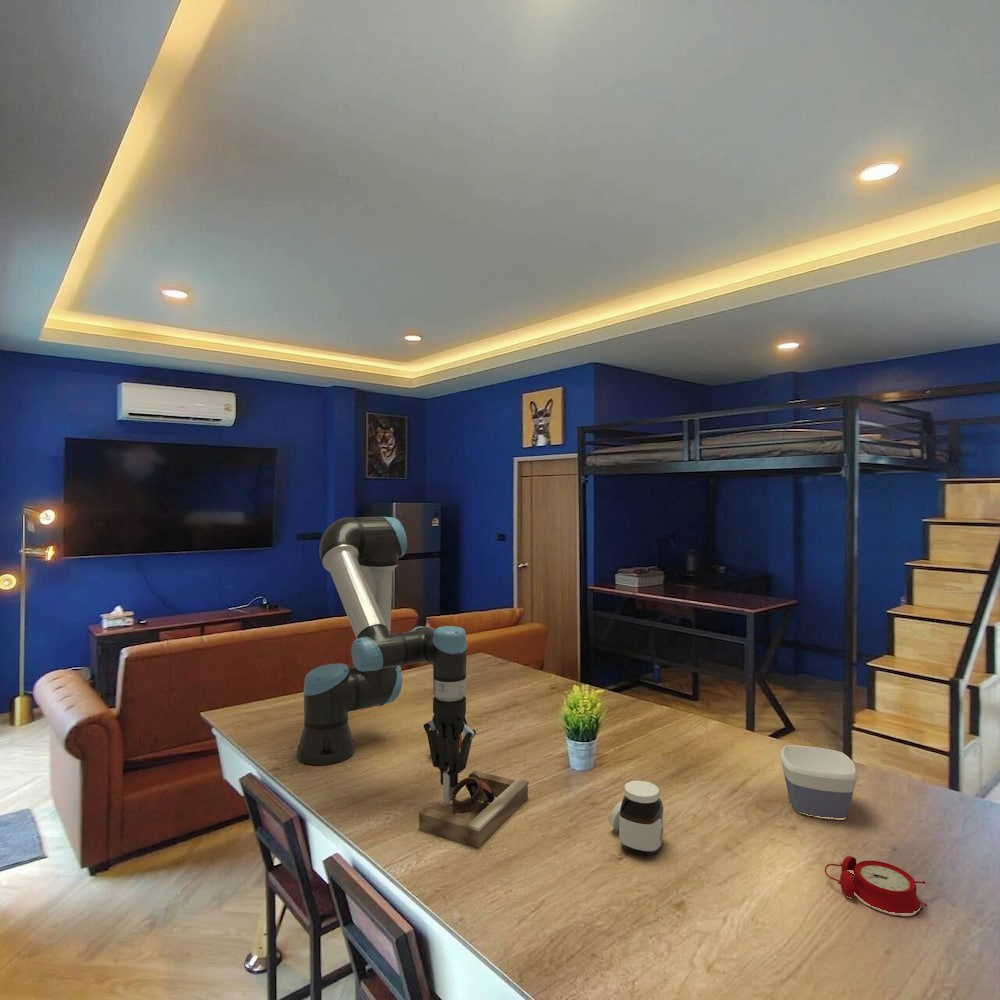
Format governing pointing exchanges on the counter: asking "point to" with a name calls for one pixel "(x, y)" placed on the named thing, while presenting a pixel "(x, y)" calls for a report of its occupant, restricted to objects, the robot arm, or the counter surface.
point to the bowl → (818, 780)
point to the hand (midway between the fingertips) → (449, 799)
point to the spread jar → (639, 818)
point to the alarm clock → (879, 885)
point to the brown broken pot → (471, 794)
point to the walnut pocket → (486, 821)
